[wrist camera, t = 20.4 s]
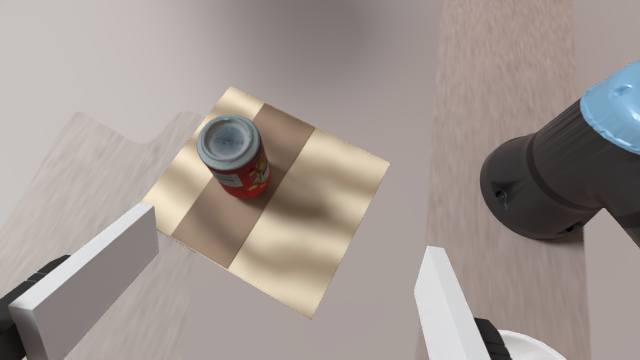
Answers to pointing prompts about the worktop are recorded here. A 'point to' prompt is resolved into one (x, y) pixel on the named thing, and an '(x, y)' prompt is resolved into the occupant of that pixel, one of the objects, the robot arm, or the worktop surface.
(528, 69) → the worktop surface
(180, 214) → the board
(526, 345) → the bowl
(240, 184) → the soda can
